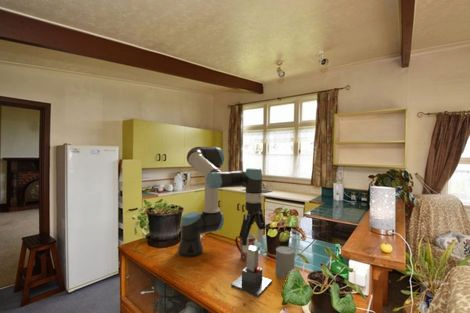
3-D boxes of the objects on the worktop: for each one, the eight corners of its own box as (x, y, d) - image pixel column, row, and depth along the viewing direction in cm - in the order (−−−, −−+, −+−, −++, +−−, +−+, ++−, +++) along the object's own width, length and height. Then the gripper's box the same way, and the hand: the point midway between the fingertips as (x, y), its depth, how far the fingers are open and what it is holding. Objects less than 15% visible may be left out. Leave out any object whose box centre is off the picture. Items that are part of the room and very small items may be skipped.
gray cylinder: (290, 280, 112) (291, 255, 112) (272, 275, 117) (272, 251, 117) (296, 272, 120) (297, 248, 120) (279, 267, 125) (279, 244, 125)
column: (244, 282, 108) (245, 248, 108) (250, 277, 112) (250, 244, 112) (254, 286, 105) (254, 251, 105) (259, 281, 110) (259, 247, 109)
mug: (257, 258, 136) (258, 235, 135) (249, 263, 128) (249, 239, 128) (240, 252, 143) (240, 230, 143) (231, 257, 136) (231, 234, 136)
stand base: (231, 286, 107) (231, 268, 107) (246, 273, 119) (247, 256, 118) (258, 297, 99) (258, 277, 99) (272, 282, 111) (272, 264, 111)
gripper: (246, 207, 95) (246, 259, 96) (272, 198, 116) (271, 240, 116) (231, 205, 100) (231, 254, 100) (259, 196, 120) (258, 237, 121)
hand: (253, 247), depth 108 cm, fingers open, 13 cm apart
